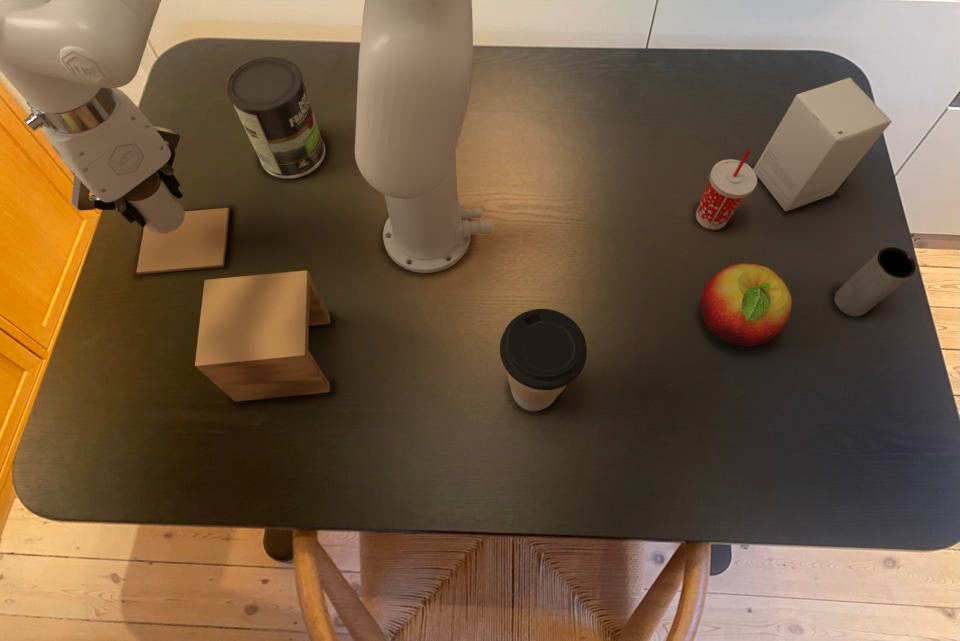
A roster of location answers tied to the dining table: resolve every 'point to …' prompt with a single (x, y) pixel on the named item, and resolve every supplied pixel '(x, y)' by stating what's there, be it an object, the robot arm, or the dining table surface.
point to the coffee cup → (541, 356)
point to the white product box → (819, 143)
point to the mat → (187, 244)
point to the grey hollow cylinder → (875, 281)
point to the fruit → (746, 304)
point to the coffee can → (277, 116)
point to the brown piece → (261, 335)
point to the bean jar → (156, 205)
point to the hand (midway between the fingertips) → (156, 205)
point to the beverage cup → (725, 192)
